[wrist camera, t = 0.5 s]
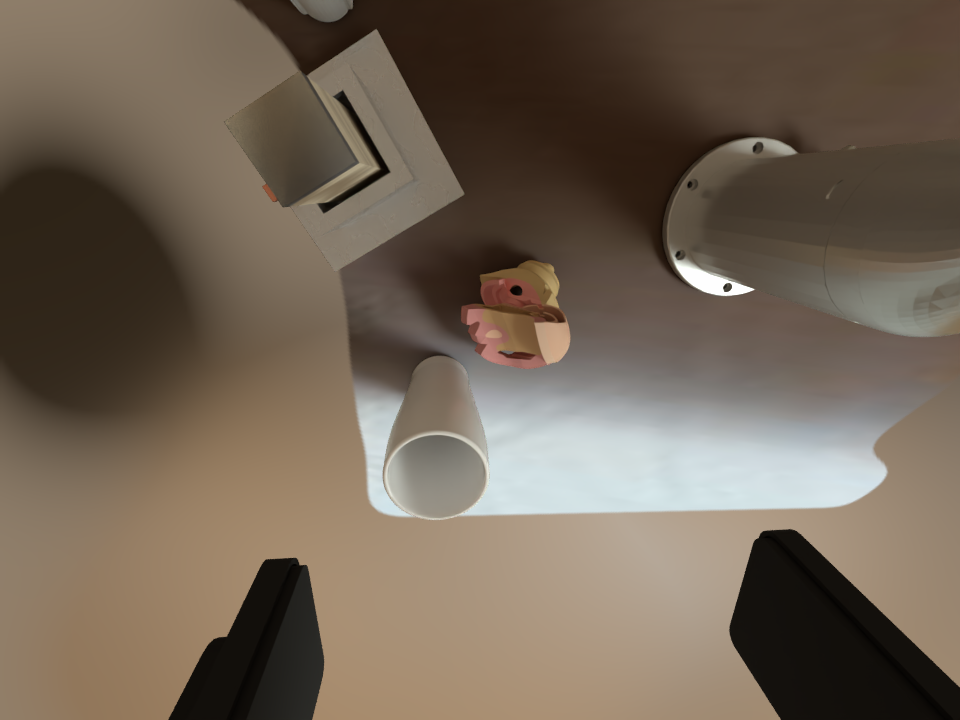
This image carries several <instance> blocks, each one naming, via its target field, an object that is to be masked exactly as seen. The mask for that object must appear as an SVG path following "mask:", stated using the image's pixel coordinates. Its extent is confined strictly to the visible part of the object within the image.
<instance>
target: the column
mask: <svg viewBox="0 0 960 720" xmlns="http://www.w3.org/2000/svg"><path fill="white" fill-rule="evenodd" d="M224 123H225V124H226V126H227V127H228V129H229V130H230V132H231V133H232V134H233V136H234V137H235V139H236V140H237V142H238V143H239V145H240V146H241V147H242V149H243V150H244V152H245V153H246V155H247V156H248V158H249V159H250V161H251V162H252V163H253V165H254V166H255V168H256V169H257V171H258V172H259V174H260V175H261V176H262V178H263V179H264V181H265V182H266V184H267V185H268V187H269V188H270V189H271V191H272V192H273V194H274V195H275V197H276V198H277V200H278V201H279V202H280V204H281V205H282V207H291V206H299V205H308V204H316V203H325V202H333V201H345V200H347V199H348V198H350V197H352V196H353V195H355V194H357V193H358V192H360V191H361V190H363V189H365V188H366V187H368V186H369V185H371V184H373V183H374V182H376V181H378V180H379V179H381V178H382V177H384V176H386V175H387V174H389V173H390V172H391V171H390V170H389V168H388V166H387V164H386V163H385V161H384V159H383V158H382V156H381V154H380V152H379V151H378V149H377V147H376V146H375V144H374V142H373V140H372V139H371V137H370V135H369V134H368V132H367V130H366V128H365V127H364V125H363V123H362V122H361V120H360V118H359V116H358V115H357V116H356V115H355V114H354V113H352V112H351V111H350V110H349V109H347V108H346V107H345V106H344V105H342V104H341V103H340V102H339V101H337V100H336V99H335V98H334V97H332V96H331V95H330V94H329V93H327V92H326V91H325V90H324V89H322V88H321V87H320V86H319V85H317V84H316V83H315V82H314V81H312V80H311V79H310V78H309V77H307V76H306V75H305V74H304V73H302V72H301V71H299V72H297V73H296V74H295V75H293V76H292V77H290V78H288V79H287V80H285V81H284V82H283V83H281V84H280V85H278V86H277V87H275V88H274V89H272V90H271V91H269V92H268V93H267V94H265V95H263V96H262V97H260V98H259V99H257V100H256V101H254V102H253V103H251V104H250V105H249V106H247V107H245V108H244V109H242V110H241V111H239V112H238V113H236V114H235V115H233V116H232V117H231V118H229V119H227V120H226V121H224Z"/></svg>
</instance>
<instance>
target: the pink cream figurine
mask: <svg viewBox="0 0 960 720" xmlns="http://www.w3.org/2000/svg"><path fill="white" fill-rule="evenodd" d="M480 280H481V284H482V286H481V297H482V300H483V302H484V304H485V305H483V304H470V305H465V306H462V310H461V322H463V323H464V324H466V325H470V327H469V330H468V333H470V335H471V337H472V339H473V341H475V342H477V343H478V345H477V347H476V349H475V351H476V352H477V353H478V354H480V355H481V356H482V357H484V358H485V359H487V360H488V361H491V362H494V363H497V364H502V365H507V366H513V367H517V368H523V369H530V368H538V367H542V366H545V365H547V364H548V365H550V364H551V363H554V362H556V363H557V362H558V361H559V360H560V359H561V358H562V357H563V356H564V355H565V353H566V352H567V350H568V348H569V344H570V331H569V325H568V322H567V319H566V317H565V315H564V313H563V311H562V310H560V309H559V306H558V302H557V300H556V298H555V297H556V296H557V294H558V289H559V281H558V279H557V277H556V275H555V274H554V268H553V266H552V265H550V264H548V263H540V262H538V261H534V260H528V261H526V262H524V263H522V264H520V265H519V266H518V267H517V268H512V269H505V270H500V271H497V272H493V273H490V274H482V275H480ZM516 286H520V287H521V288H522V294H521V295H520V296H516V295H513V294H512V293H511V291H510V289H512V288H514V287H516ZM502 350H509V351H515V352H514V353H513V354H506V353H503V352H501V351H502Z"/></svg>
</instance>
